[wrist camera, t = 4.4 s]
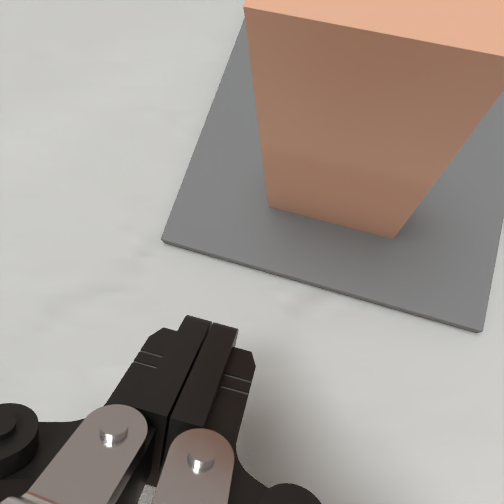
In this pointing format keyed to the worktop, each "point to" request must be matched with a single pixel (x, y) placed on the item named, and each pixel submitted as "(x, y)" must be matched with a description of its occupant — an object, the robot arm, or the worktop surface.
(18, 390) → the worktop surface
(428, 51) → the tile
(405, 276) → the mat
